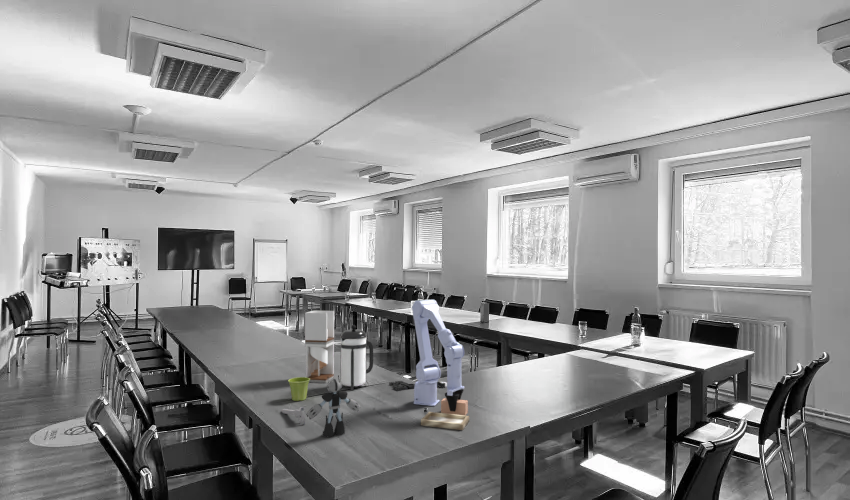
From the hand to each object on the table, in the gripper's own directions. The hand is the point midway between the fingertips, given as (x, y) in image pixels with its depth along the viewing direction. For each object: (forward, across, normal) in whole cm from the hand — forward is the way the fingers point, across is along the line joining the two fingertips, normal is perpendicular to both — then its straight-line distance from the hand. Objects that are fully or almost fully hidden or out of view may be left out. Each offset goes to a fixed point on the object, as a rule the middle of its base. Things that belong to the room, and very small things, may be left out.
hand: (454, 409), depth 186 cm
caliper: (+2, -26, +58) cm, 64 cm away
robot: (+2, -36, +34) cm, 50 cm away
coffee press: (+2, +24, +57) cm, 62 cm away
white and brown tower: (+2, +29, +80) cm, 85 cm away
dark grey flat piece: (+2, +34, +28) cm, 44 cm away
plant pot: (+2, -4, +70) cm, 70 cm away
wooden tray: (+1, -13, 0) cm, 13 cm away
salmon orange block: (+2, 0, 0) cm, 2 cm away
